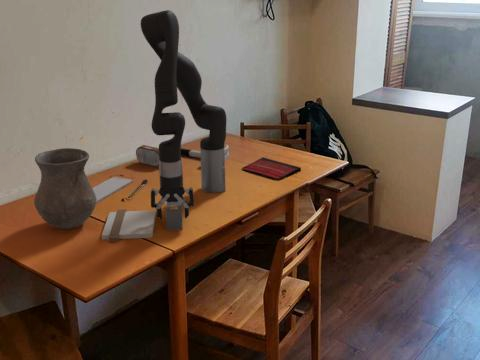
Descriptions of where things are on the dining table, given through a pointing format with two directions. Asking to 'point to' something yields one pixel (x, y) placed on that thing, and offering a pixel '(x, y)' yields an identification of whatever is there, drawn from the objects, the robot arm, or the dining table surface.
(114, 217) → the board
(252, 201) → the dining table surface
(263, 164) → the binder
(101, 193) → the baseboard molding
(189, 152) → the claw hammer
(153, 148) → the tin
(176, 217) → the block
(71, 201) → the vase
